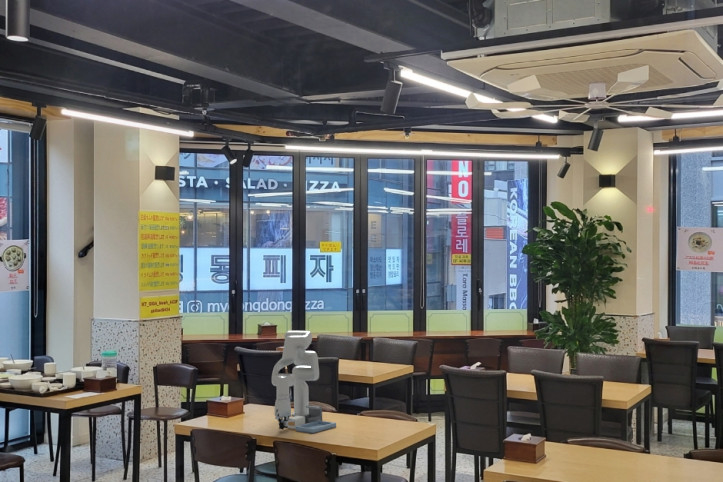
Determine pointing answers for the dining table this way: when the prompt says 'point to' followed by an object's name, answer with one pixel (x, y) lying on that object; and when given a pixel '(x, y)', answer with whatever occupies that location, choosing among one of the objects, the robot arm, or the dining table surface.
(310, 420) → the printer bay
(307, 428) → the tray
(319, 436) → the dining table surface
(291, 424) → the caddy
